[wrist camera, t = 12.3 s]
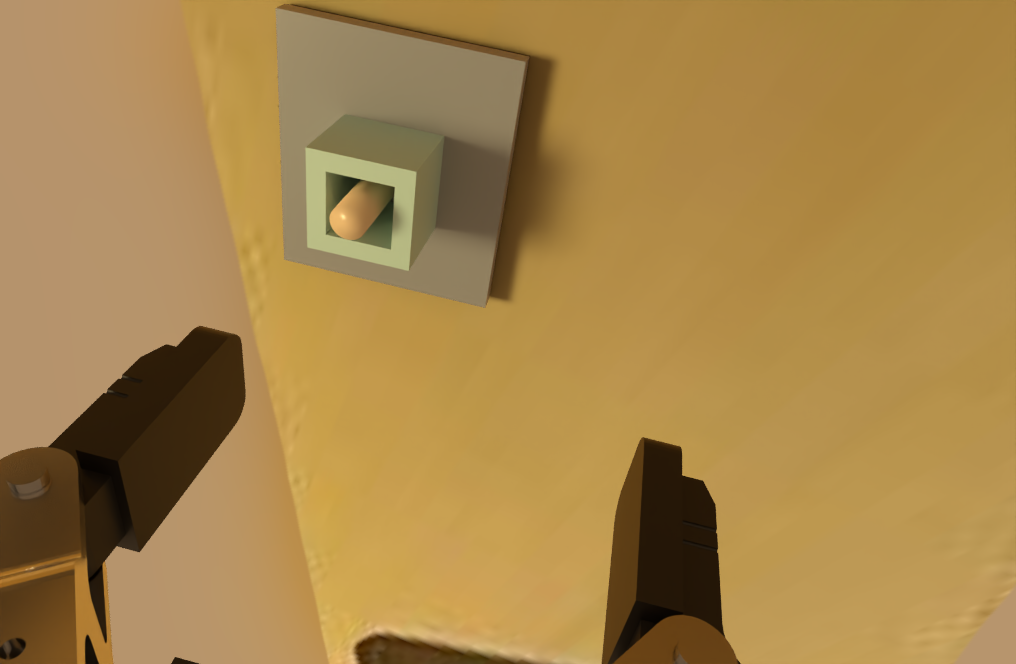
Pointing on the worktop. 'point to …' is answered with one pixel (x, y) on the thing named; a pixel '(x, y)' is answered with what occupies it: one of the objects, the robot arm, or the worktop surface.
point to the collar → (381, 159)
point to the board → (412, 104)
